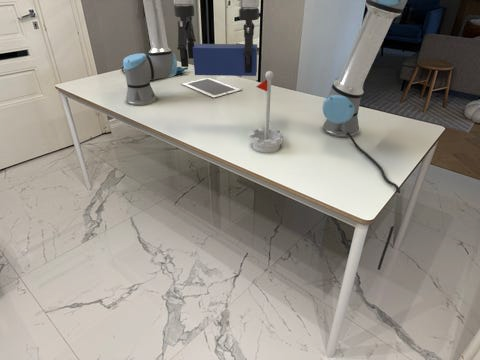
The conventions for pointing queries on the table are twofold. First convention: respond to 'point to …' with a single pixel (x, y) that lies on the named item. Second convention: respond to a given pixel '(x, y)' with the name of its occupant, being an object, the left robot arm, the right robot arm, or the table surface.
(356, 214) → the table surface
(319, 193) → the table surface
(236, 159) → the table surface
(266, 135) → the flag stand
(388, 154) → the table surface
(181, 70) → the submachine gun
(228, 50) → the box
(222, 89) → the tablet
